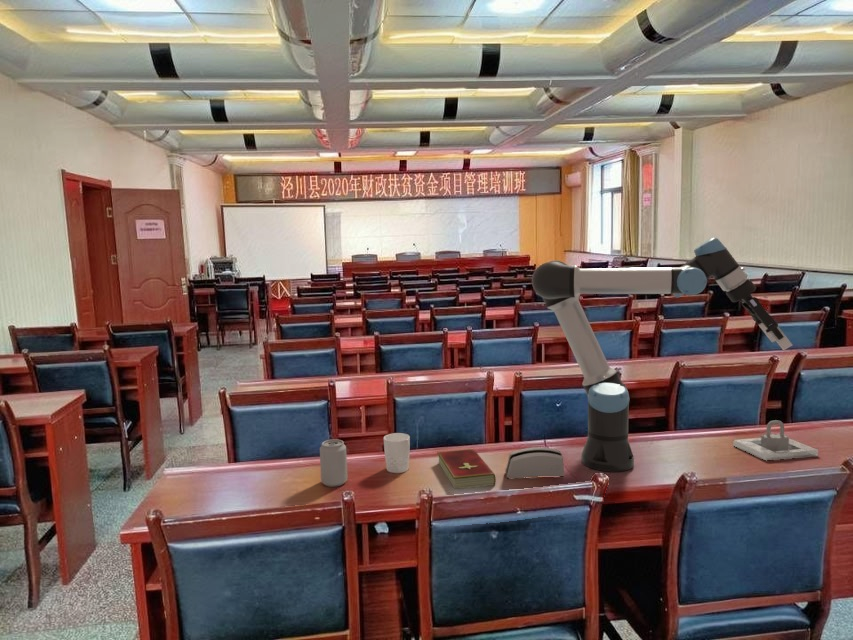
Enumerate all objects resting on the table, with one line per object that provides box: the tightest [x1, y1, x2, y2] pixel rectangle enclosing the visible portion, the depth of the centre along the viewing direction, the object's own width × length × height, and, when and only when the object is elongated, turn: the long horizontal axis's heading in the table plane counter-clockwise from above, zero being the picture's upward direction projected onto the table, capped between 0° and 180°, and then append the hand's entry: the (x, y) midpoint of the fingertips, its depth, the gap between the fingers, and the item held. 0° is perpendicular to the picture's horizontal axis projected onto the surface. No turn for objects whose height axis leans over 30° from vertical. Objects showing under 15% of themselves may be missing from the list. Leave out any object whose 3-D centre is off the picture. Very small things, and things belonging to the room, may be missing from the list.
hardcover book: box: [437, 448, 497, 490], centre depth 169 cm, size 12×21×4 cm, turn 11°
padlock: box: [760, 419, 790, 451], centre depth 180 cm, size 7×4×10 cm, turn 89°
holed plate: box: [732, 437, 819, 462], centre depth 181 cm, size 18×14×2 cm
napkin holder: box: [505, 446, 565, 478], centre depth 165 cm, size 17×5×10 cm, turn 93°
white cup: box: [383, 432, 411, 474], centre depth 173 cm, size 8×8×10 cm
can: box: [319, 438, 348, 488], centre depth 164 cm, size 8×8×12 cm
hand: (781, 343), depth 167 cm, fingers open, 13 cm apart
